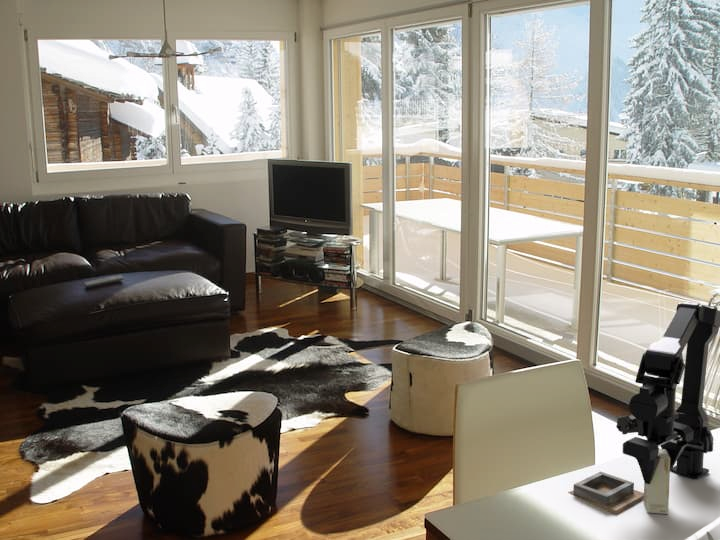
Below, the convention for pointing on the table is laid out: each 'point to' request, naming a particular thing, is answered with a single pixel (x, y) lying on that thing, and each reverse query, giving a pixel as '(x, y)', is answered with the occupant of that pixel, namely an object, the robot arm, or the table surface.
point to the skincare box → (659, 486)
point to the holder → (607, 492)
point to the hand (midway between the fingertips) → (656, 478)
